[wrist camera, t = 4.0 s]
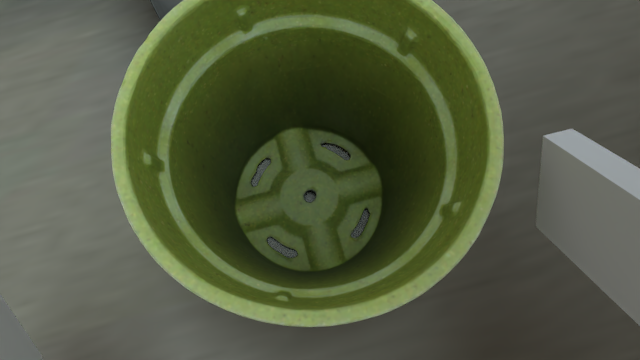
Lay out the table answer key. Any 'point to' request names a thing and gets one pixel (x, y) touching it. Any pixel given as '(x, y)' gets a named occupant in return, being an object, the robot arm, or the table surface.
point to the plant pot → (307, 153)
